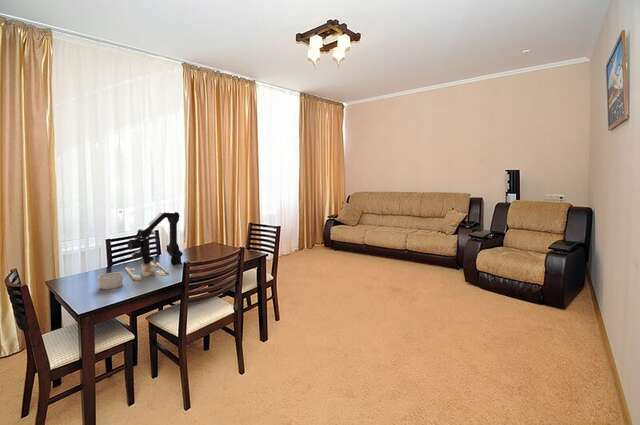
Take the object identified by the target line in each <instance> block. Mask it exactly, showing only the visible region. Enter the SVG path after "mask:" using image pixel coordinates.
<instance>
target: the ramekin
mask: <svg viewBox="0 0 640 425" xmlns="http://www.w3.org/2000/svg"><path fill="white" fill-rule="evenodd" d="M123 279H124V273H123V272H120V271H119V272H116V271H115V272H114V271H113V272H108V273H104V274H100V275H98V276H97V281H98V286H99V287H100V289H102V290H112V289H116V288H119V287H121V286H122V285H123V283H124V282H123Z"/></svg>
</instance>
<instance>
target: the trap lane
mask: <svg viewBox="0 0 640 425" xmlns="http://www.w3.org/2000/svg"><path fill="white" fill-rule="evenodd" d="M154 265H155V267H158V268H159V269H160V270H155V273H158V275H159V276H160V277H163V275H164V276H167V275H168V274H169V275H170V273H169V271H168V270H167V269H166V268H164V267H163V266H162V264H160V263H159V262H157V261H156V262H155V263H154ZM135 270H136V269H135V268H134V267H132V268H129V267H125V271H126V272H127V274H128V275H129V276H130V278H131V280H132V281H133V282H136V281H141V280H143V277H142V276H140V274H139V273H138V274H133V273H132V272H131V271H135ZM162 270H163V271H162Z"/></svg>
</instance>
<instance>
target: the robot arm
mask: <svg viewBox="0 0 640 425" xmlns="http://www.w3.org/2000/svg"><path fill="white" fill-rule="evenodd" d="M164 219H167V221H168V223H169V244H167V245H166V249H165V250H166V252H167V254H169V257H170V264H171V265H172V266H177V265H182V264H183V262H182V256H183V253H184V252H183V251H181V250H180V246H179V244H178V222H179V221H180V213H179V212H177V211H169V212H163V211H161V212H160V211H159V213H158V214H157V215H156V216H155V217H154V218H153V219H152V220H150V221H149V223H148V224H146V225H144V226H142V227H140V228H139V229H138V230H137V233H136V234H135V236H134V238H133V239H132V238H131V239H130V238H129V240H128V242H127V247H128V250H130V251H131V250H136V249H139V250H137V251H135V252H133V253H131V254H130V255H131V257H132V258H133V260H135V259H136V260H137V258H140V260H141V262H142V263H143V264H145V263H151V262H152V261H154V257H153V256H152V254H151V247H150V241H151V240H152V239H153V238H152V237H151V234H152V233H153V230H154V229H155V228H156V227H157V226H158V225H160V223H162V221H163V220H164Z"/></svg>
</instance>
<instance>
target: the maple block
mask: <svg viewBox="0 0 640 425" xmlns="http://www.w3.org/2000/svg"><path fill="white" fill-rule="evenodd" d="M140 267H141V268H140V269H141V275H142V276H143V277H150V276H155V275H156V268H155V267H156V266H155V263H153V262H152V261H150V263H145V264H144V263H142V264H140Z"/></svg>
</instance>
